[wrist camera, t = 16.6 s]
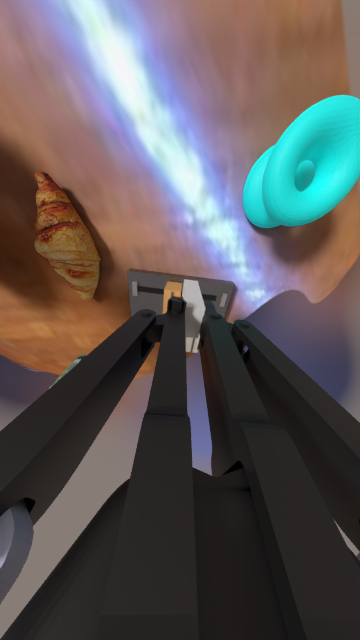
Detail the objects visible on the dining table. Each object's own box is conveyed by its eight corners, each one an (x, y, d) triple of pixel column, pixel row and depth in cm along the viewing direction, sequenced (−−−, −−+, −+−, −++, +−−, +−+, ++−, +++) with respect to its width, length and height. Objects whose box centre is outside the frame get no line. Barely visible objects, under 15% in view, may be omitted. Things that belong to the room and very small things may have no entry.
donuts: (261, 230, 18) (282, 97, 13) (237, 231, 26) (244, 152, 21) (350, 220, 17) (413, 70, 12) (295, 224, 25) (317, 139, 20)
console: (134, 329, 39) (131, 335, 37) (130, 268, 30) (126, 271, 28) (214, 338, 39) (216, 345, 37) (232, 281, 31) (235, 285, 29)
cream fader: (184, 337, 37) (184, 352, 32) (187, 321, 34) (187, 334, 30) (196, 339, 37) (197, 353, 32) (200, 322, 34) (201, 336, 30)
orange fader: (166, 303, 32) (162, 314, 27) (167, 281, 29) (163, 289, 25) (179, 305, 32) (178, 316, 27) (182, 283, 29) (181, 291, 25)
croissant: (111, 292, 37) (113, 304, 31) (65, 299, 34) (57, 314, 28) (80, 181, 26) (73, 166, 20) (6, 174, 22) (-30, 154, 16)
